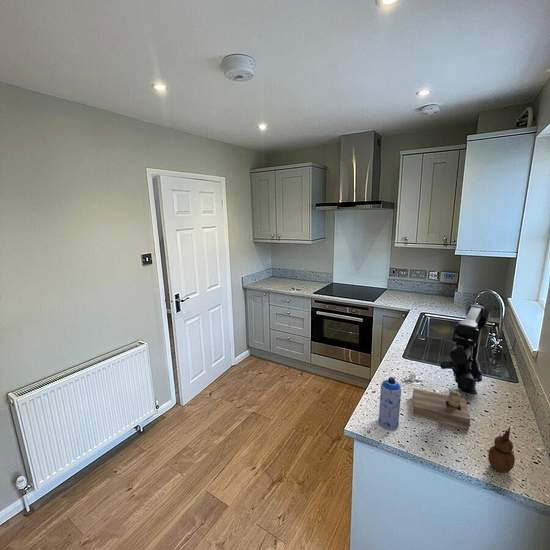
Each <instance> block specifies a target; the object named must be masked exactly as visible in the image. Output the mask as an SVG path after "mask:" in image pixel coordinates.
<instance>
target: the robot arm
mask: <svg viewBox="0 0 550 550" xmlns="http://www.w3.org/2000/svg"><path fill="white" fill-rule="evenodd" d="M465 315H466V316H465V318H464V319H463V320H460V321H458V323H457V324H456V325H455V327H454V330H453V331H454V332H453V335H452V339H451V342H454V343H455V346H454V347H453V348H452V350H451V351H450V352H449V355H445V356H439V357H438V358H437V359H438V363H439V367H440V369H441V370H447V369H448V370H449V369H452V374H453V377H454V382H455V383H457V389H459V390H460V391H461V392H465V393H469V394H475V395H478V391H477V388H476V386H477V383H481V382H483V372H482V370H481V364H480V362H479V360H478V354H479V349H480V345H481V344H480V342H481V337H482V329H484V327H485V326H486V325H487V324H488V322H489V321H490V318H491V313H490V311H489V310H487V309H485V307H484V306H481V305H476V304H470V306H468V307H467V309H466V314H465Z"/></svg>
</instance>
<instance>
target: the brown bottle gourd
mask: <svg viewBox="0 0 550 550" xmlns="http://www.w3.org/2000/svg"><path fill="white" fill-rule="evenodd" d="M510 433H511V427H508V429H505V432H504V433H503V434H502V435H498V436H496V437H495V438H494V441H493V444H494V445H492V446H490V447H489V450H488V454H487V455H488V456H487V457H488V462H489V464H490V467H491V468H492V469H494V470H495V472H499V473H501V474H507V473H509V472H511V471H512V470H513V468H514V466H515V459H516V457H515V454H514V452H513V449H514V445H513V441H512V440H511V439H510Z"/></svg>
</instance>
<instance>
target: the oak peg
mask: <svg viewBox="0 0 550 550" xmlns="http://www.w3.org/2000/svg"><path fill="white" fill-rule="evenodd" d="M448 395H449V398H448V405H449V406H448V408H451V409H455V410H458V408H459V403H460V398H461V393H460V392H458V391H456V390H449V393H448Z"/></svg>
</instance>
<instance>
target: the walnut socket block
mask: <svg viewBox="0 0 550 550" xmlns="http://www.w3.org/2000/svg"><path fill="white" fill-rule="evenodd" d="M448 398H449V394H448V395H447V394H443V393H438V392H433V391H429V390H423V389H420V388H414V387H413V390H412V416H413V417H417V418H421V419H424V420H429V421H433V422H437V423H442V424H445V425H450V426H454V427H456V428H457V427H458V428H461V429H466V430H470V427H471V426H470V425H471V416H470V413H469V409H468V405H467V402H466V399H465V398H463V397H460V403H459V408H458V410H455V409H451V408H448V406H449V405H448Z"/></svg>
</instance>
